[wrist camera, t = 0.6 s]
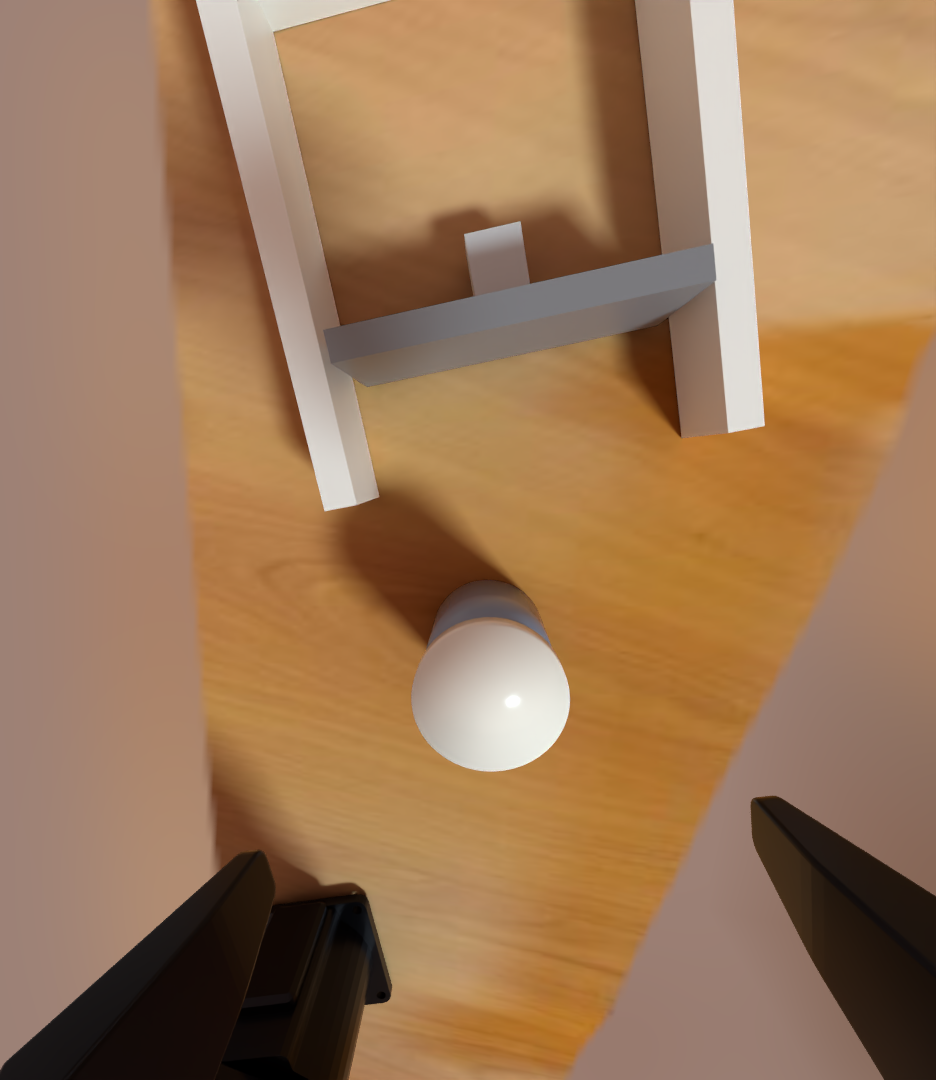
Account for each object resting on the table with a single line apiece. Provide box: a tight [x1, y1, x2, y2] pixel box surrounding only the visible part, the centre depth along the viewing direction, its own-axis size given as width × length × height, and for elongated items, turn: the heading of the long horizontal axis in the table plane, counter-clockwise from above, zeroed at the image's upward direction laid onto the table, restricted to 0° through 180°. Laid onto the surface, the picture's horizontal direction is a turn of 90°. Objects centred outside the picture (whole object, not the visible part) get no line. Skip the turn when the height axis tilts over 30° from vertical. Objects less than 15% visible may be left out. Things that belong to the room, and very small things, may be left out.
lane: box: [196, 0, 765, 511], centre depth 15 cm, size 19×15×5 cm
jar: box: [411, 580, 570, 771], centre depth 17 cm, size 5×5×6 cm
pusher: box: [323, 221, 716, 387], centre depth 15 cm, size 4×12×4 cm, turn 101°
